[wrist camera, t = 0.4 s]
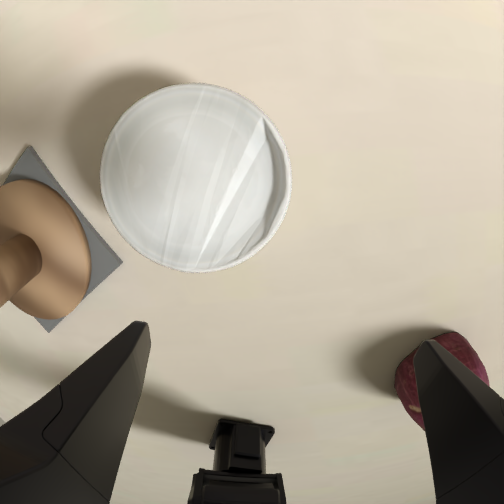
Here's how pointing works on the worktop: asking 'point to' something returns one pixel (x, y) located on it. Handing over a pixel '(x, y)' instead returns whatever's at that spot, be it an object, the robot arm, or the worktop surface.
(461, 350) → the vegetable
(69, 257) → the walnut lid
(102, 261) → the rubber mat
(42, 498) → the robot arm
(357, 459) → the worktop surface
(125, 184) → the ramekin
